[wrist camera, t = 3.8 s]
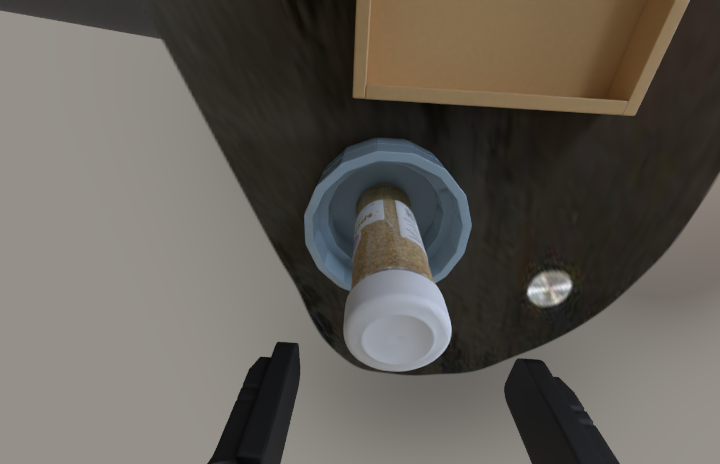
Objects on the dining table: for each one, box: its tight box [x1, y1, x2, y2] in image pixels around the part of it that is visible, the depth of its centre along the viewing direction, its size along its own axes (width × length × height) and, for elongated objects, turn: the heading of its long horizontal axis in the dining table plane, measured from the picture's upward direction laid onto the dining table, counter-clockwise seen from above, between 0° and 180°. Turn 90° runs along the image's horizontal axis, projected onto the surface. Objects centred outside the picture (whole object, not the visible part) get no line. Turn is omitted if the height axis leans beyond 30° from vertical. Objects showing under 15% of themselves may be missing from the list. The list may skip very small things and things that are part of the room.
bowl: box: [304, 137, 472, 291], centre depth 22 cm, size 11×11×5 cm
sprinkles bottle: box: [343, 183, 451, 371], centre depth 18 cm, size 5×5×14 cm
